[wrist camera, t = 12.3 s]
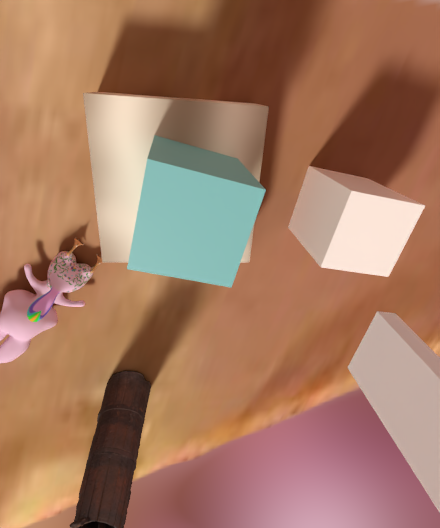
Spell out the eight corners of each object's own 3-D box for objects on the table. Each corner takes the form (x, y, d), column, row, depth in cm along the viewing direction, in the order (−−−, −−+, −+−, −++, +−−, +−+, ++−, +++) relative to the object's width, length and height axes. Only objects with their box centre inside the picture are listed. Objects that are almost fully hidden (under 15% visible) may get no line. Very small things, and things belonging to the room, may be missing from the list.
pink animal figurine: (65, 220, 30) (-40, 331, 31) (51, 240, 25) (-75, 372, 26) (118, 262, 33) (20, 362, 34) (116, 288, 28) (0, 405, 29)
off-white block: (288, 227, 32) (320, 267, 25) (308, 165, 29) (351, 190, 22) (342, 236, 33) (388, 276, 26) (367, 178, 31) (425, 205, 24)
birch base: (112, 237, 30) (102, 262, 26) (98, 91, 25) (83, 93, 20) (238, 238, 32) (249, 262, 28) (253, 103, 27) (268, 106, 22)
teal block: (139, 216, 25) (127, 268, 18) (154, 135, 22) (147, 158, 15) (215, 233, 26) (231, 287, 19) (237, 158, 24) (265, 189, 17)
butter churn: (65, 362, 36) (-153, 932, 12) (150, 343, 37) (108, 863, 12) (95, 414, 41) (-20, 905, 16) (170, 397, 41) (168, 855, 17)
